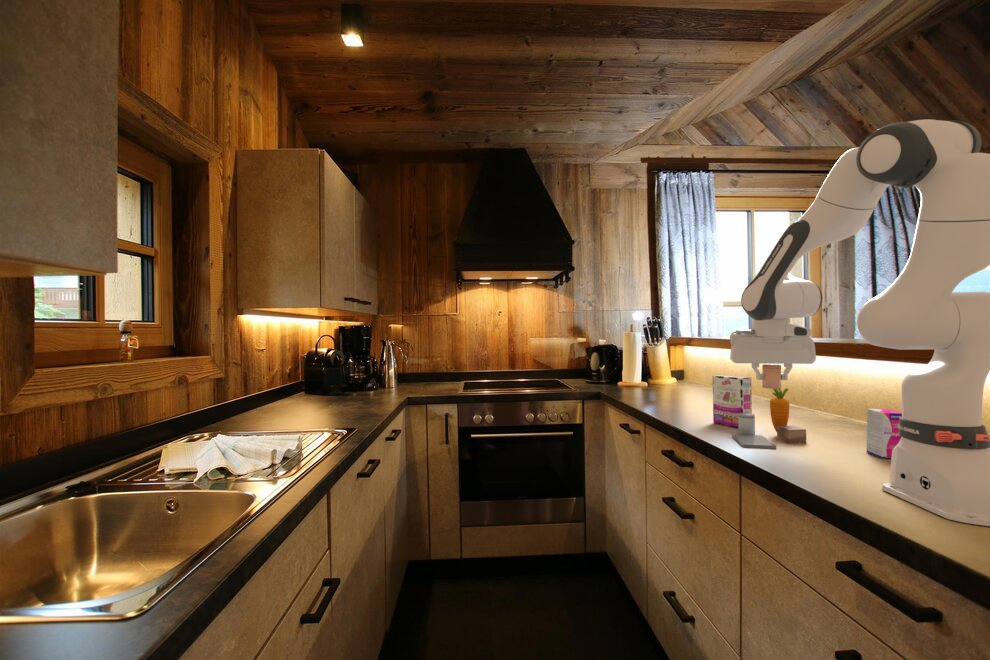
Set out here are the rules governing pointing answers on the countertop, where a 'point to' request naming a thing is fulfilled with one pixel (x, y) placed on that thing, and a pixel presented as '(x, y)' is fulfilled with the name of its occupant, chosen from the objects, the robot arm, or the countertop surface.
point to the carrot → (779, 408)
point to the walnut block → (791, 434)
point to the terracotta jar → (771, 376)
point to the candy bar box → (730, 399)
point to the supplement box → (882, 431)
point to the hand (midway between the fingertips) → (771, 379)
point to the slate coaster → (753, 441)
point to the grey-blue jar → (746, 424)
